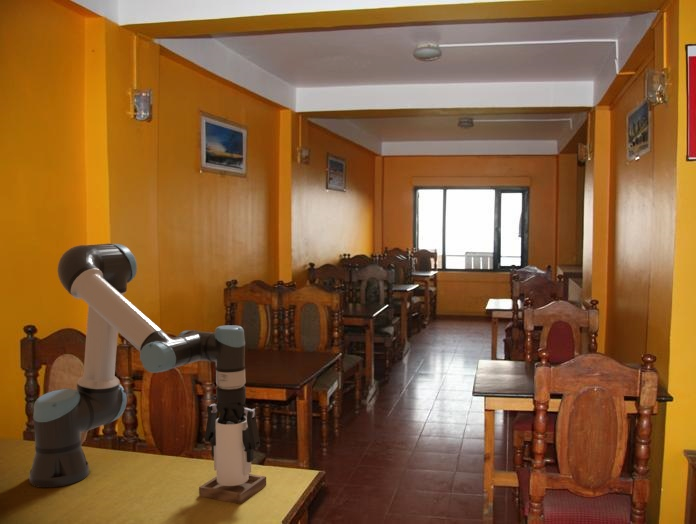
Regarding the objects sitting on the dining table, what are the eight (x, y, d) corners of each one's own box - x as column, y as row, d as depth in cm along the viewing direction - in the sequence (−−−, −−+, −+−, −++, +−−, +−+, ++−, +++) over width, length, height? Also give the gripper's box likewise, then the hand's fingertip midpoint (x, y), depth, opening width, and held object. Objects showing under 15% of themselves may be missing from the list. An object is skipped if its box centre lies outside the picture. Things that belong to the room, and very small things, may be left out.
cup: (210, 482, 170) (208, 421, 169) (229, 471, 177) (228, 413, 176) (235, 488, 166) (234, 426, 165) (254, 476, 173) (253, 417, 172)
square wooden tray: (199, 496, 168) (199, 487, 168) (226, 478, 180) (226, 470, 180) (240, 503, 163) (240, 494, 163) (266, 485, 175) (266, 476, 175)
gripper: (188, 385, 170) (190, 470, 172) (258, 393, 162) (259, 482, 164) (205, 378, 177) (207, 460, 179) (273, 385, 169) (274, 471, 170)
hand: (232, 471), depth 171 cm, fingers closed on cup, 8 cm apart
